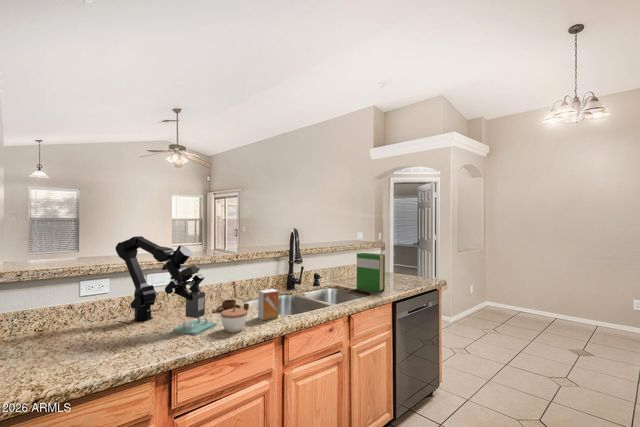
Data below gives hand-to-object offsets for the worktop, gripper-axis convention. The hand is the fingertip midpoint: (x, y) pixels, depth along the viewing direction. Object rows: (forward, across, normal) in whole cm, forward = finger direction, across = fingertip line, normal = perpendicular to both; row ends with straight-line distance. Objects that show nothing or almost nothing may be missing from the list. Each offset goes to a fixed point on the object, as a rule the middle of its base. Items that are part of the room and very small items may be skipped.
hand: (196, 298), depth 141 cm
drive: (+5, 0, +6) cm, 8 cm away
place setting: (+9, +26, +11) cm, 30 cm away
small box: (+24, +25, -6) cm, 36 cm away
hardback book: (+48, +105, -30) cm, 119 cm away
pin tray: (+9, 0, +9) cm, 13 cm away
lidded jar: (+21, +5, -2) cm, 22 cm away
